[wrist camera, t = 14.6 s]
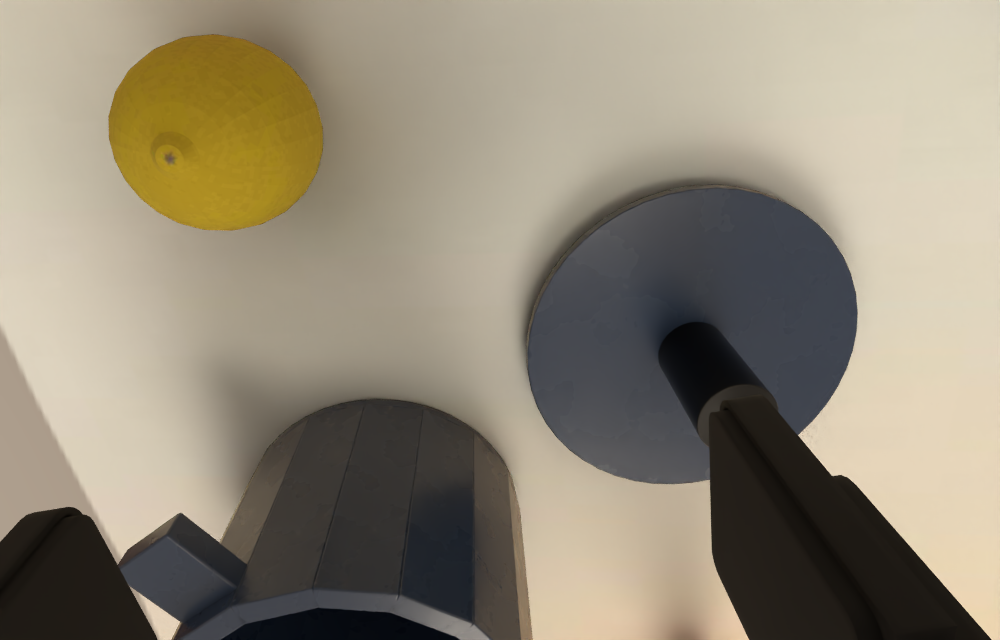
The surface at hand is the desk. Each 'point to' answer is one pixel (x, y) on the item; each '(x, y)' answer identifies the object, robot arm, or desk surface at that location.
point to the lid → (687, 327)
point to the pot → (353, 538)
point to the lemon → (215, 132)
